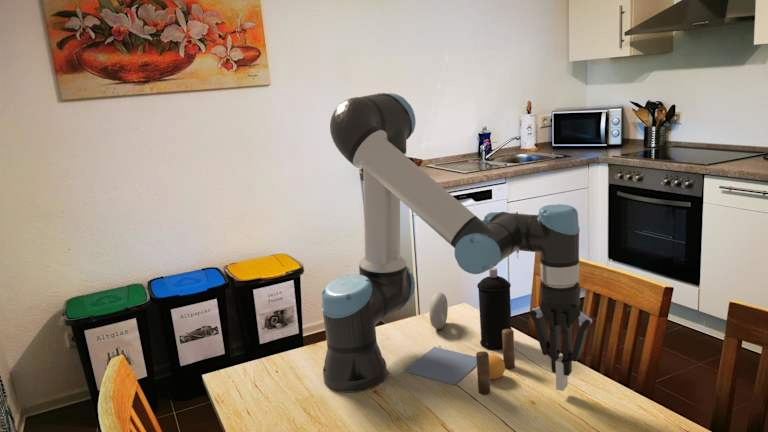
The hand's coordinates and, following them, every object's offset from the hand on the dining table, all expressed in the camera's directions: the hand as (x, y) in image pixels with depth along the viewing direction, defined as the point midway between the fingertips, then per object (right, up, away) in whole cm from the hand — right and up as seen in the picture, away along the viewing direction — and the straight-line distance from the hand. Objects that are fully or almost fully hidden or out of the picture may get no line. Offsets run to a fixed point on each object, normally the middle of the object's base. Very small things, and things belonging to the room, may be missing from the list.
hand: (561, 387), depth 128 cm
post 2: (-8, +1, +14) cm, 16 cm away
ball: (-13, +2, +9) cm, 16 cm away
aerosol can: (-9, +4, +26) cm, 28 cm away
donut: (-22, +5, +39) cm, 45 cm away
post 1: (-16, -2, +4) cm, 16 cm away
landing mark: (-23, 0, +18) cm, 29 cm away
